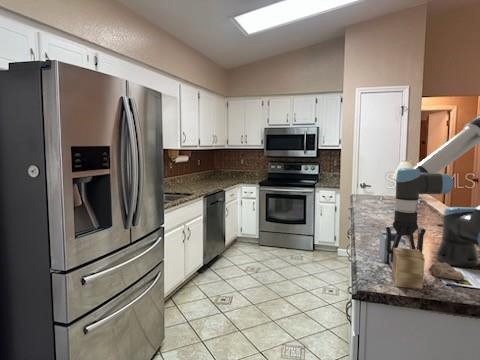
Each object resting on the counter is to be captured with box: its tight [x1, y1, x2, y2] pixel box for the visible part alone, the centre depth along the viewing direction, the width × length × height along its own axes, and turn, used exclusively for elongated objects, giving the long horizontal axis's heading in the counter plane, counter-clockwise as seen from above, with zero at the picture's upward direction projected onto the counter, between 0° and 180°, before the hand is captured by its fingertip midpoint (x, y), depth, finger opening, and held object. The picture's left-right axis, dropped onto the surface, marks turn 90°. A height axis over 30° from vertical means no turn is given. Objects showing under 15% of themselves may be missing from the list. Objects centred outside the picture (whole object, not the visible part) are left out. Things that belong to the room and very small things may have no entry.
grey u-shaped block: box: [378, 229, 406, 263], centre depth 142 cm, size 8×11×11 cm
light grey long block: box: [388, 241, 408, 268], centre depth 127 cm, size 5×18×9 cm, turn 167°
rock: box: [428, 261, 465, 281], centre depth 124 cm, size 9×6×10 cm
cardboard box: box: [391, 248, 425, 290], centre depth 117 cm, size 8×7×12 cm
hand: (402, 271), depth 124 cm, fingers closed on light grey long block, 4 cm apart
